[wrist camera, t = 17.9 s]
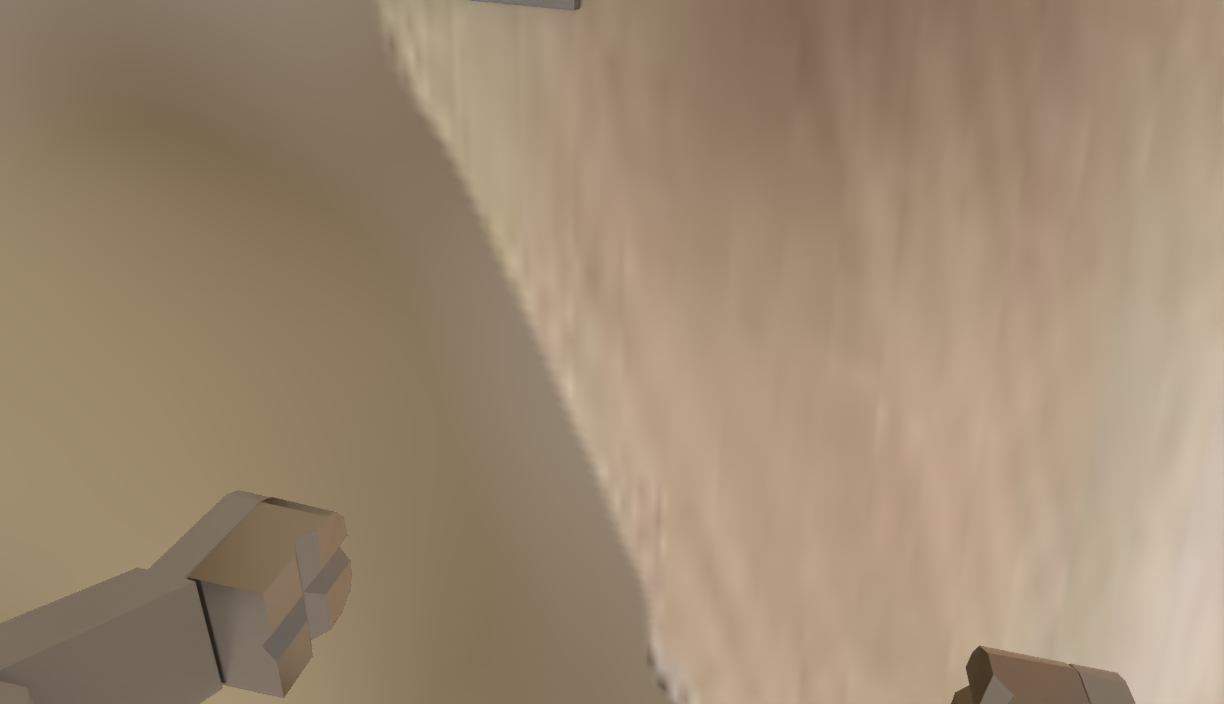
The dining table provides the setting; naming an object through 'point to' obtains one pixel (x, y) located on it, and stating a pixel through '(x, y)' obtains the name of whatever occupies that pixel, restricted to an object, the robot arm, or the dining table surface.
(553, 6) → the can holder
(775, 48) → the dining table surface
